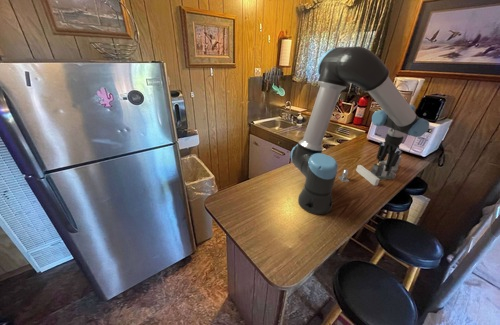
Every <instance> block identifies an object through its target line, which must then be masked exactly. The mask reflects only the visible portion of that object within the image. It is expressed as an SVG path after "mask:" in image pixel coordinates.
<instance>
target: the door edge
mask: <svg viewBox="0 0 500 325" xmlns="http://www.w3.org/2000/svg"><path fill="white" fill-rule="evenodd" d="M368 170H369V169H367V168H365V167H364V166H363V165H361V164H358V165H357V166H356V169H355V172H357V173H358V174H359V175H360V176H361V177H363V178H365V180H366V181H367V182H369V183H370V184H371V185H372V186H374V187H375V186H378V185H379V183H380V181H381V180H380V179H379V178H377V177H376V176H375V175H373V174H372V173H371V172H370V171H371V170H370V171H368Z"/></svg>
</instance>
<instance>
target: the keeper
mask: <svg viewBox="0 0 500 325" xmlns="http://www.w3.org/2000/svg"><path fill="white" fill-rule="evenodd" d="M367 170H368V171H370V172H371V170H369V169H367ZM371 173H372V172H371ZM372 174H373V175H375V174H374V173H372ZM375 176H376V175H375ZM396 176H397V173H396V172H392V171H390V174H389V176H376V177H377V178H379V179H380V180H379V181H381V180H382V181H383V180H395V179H396Z"/></svg>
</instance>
